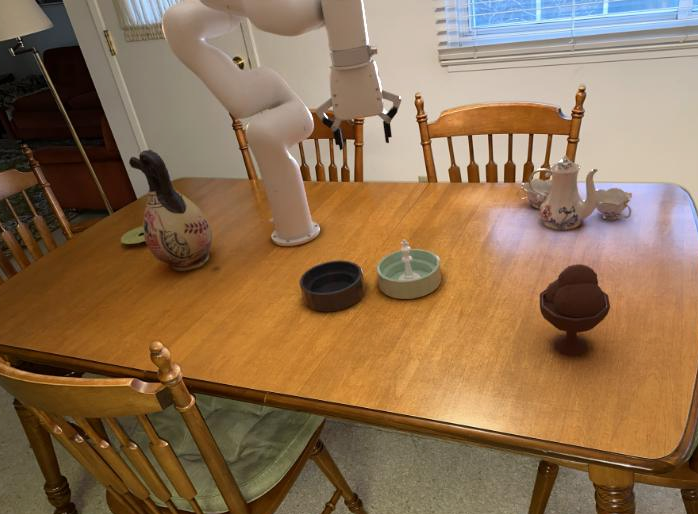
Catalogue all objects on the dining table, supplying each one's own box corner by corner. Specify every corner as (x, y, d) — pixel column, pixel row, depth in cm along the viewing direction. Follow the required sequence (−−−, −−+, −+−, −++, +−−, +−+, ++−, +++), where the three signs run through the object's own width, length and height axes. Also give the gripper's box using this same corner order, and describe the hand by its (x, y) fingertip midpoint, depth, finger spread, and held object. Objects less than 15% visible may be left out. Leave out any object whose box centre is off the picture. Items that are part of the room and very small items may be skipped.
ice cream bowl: (528, 332, 98) (529, 260, 90) (590, 322, 98) (597, 249, 90) (548, 371, 89) (552, 294, 81) (616, 360, 89) (626, 282, 81)
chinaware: (636, 215, 131) (647, 145, 123) (620, 241, 119) (630, 165, 111) (522, 202, 145) (525, 138, 137) (498, 224, 133) (499, 155, 125)
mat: (131, 253, 148) (128, 247, 147) (117, 242, 156) (114, 236, 154) (170, 237, 154) (168, 230, 152) (155, 226, 161) (152, 220, 160)
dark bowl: (291, 300, 118) (286, 282, 115) (336, 272, 125) (332, 254, 123) (333, 320, 110) (328, 301, 107) (378, 288, 117) (375, 270, 115)
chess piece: (419, 287, 115) (414, 245, 109) (396, 287, 116) (390, 246, 110) (422, 275, 119) (418, 233, 113) (400, 275, 120) (394, 234, 114)
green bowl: (366, 288, 118) (363, 270, 115) (407, 260, 125) (404, 243, 123) (413, 307, 110) (411, 288, 107) (453, 276, 117) (452, 258, 114)
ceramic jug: (147, 268, 139) (97, 154, 123) (199, 242, 148) (159, 132, 131) (181, 287, 129) (131, 165, 112) (235, 258, 138) (196, 140, 121)
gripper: (394, 46, 108) (404, 133, 117) (307, 60, 109) (324, 144, 118) (396, 53, 102) (406, 144, 111) (304, 67, 103) (322, 156, 112)
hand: (364, 144), depth 115 cm, fingers open, 9 cm apart
